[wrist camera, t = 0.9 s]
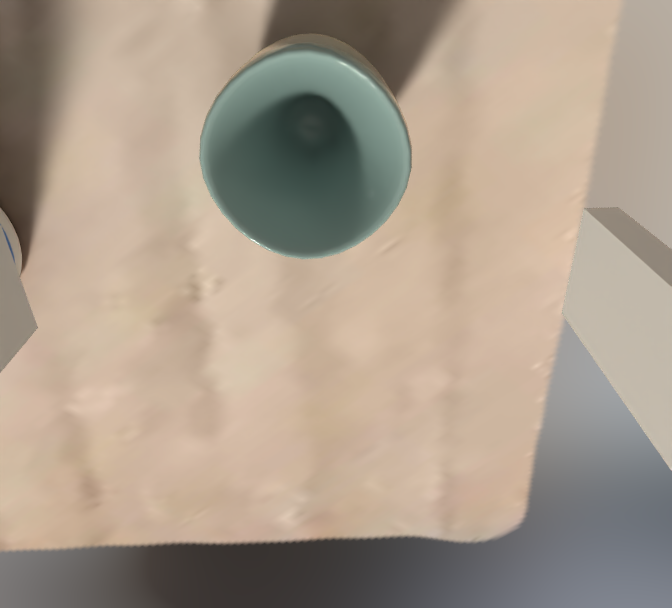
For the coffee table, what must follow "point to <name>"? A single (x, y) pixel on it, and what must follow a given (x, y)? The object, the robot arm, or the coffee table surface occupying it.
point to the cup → (306, 148)
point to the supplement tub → (11, 240)
